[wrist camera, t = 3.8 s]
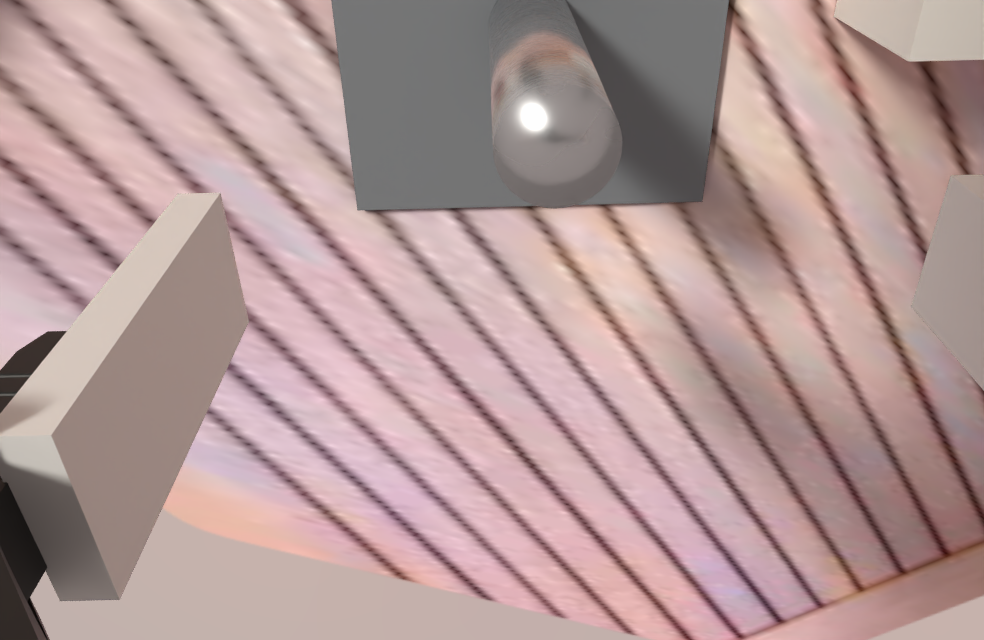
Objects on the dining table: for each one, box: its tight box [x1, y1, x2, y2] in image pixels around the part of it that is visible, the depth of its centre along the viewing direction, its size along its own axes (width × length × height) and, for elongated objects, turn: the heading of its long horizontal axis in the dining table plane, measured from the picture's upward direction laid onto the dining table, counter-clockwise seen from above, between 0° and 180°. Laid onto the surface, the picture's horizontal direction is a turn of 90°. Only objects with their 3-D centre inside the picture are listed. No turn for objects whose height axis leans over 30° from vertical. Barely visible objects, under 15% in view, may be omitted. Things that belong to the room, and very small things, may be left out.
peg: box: [489, 0, 622, 208], centre depth 23 cm, size 3×3×12 cm
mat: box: [331, 0, 729, 210], centre depth 29 cm, size 14×14×1 cm
